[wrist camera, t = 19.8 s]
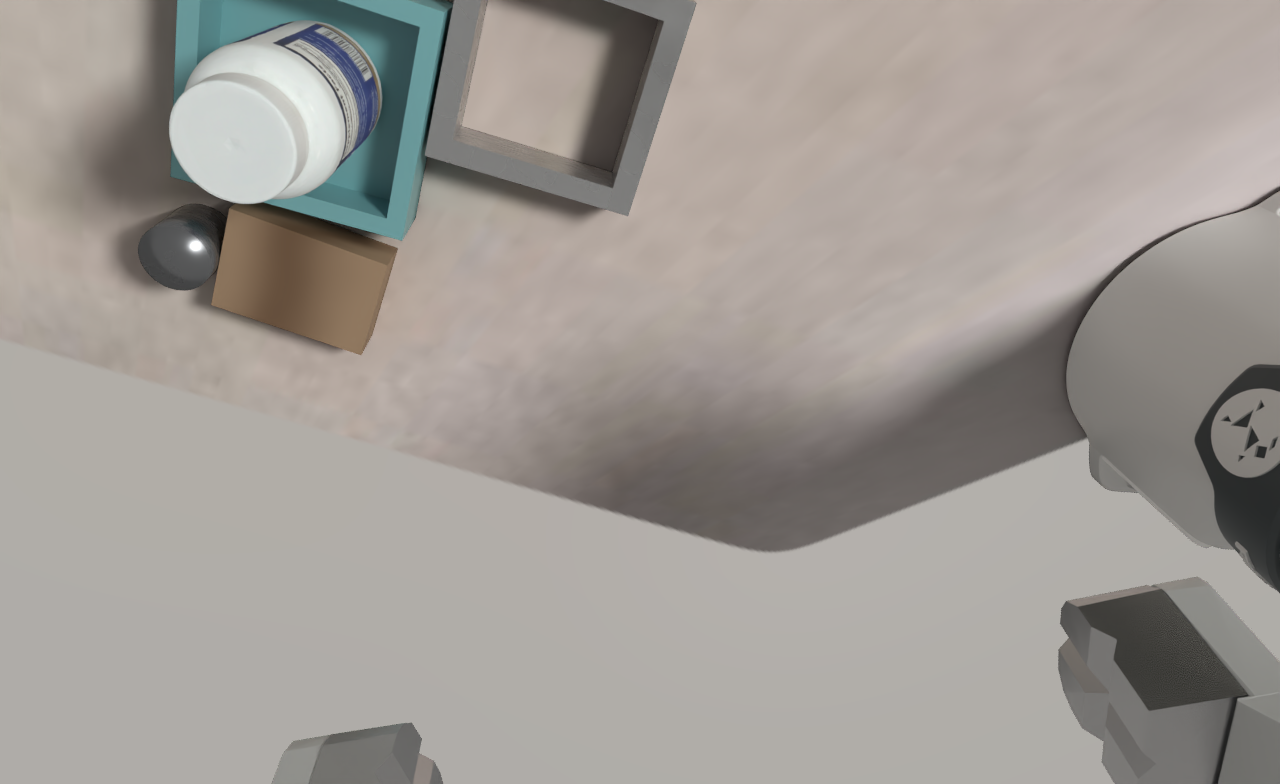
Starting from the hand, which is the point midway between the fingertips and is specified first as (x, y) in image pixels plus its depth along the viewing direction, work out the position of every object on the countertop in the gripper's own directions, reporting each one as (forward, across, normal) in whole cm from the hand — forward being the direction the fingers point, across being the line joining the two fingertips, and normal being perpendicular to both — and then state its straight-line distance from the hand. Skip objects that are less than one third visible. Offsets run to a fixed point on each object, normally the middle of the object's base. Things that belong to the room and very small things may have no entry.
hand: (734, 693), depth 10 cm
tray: (+31, +13, -5) cm, 34 cm away
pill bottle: (+30, +13, -5) cm, 33 cm away
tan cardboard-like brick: (+32, +17, +3) cm, 36 cm away
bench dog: (+31, +21, 0) cm, 38 cm away
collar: (+31, +3, -3) cm, 31 cm away
